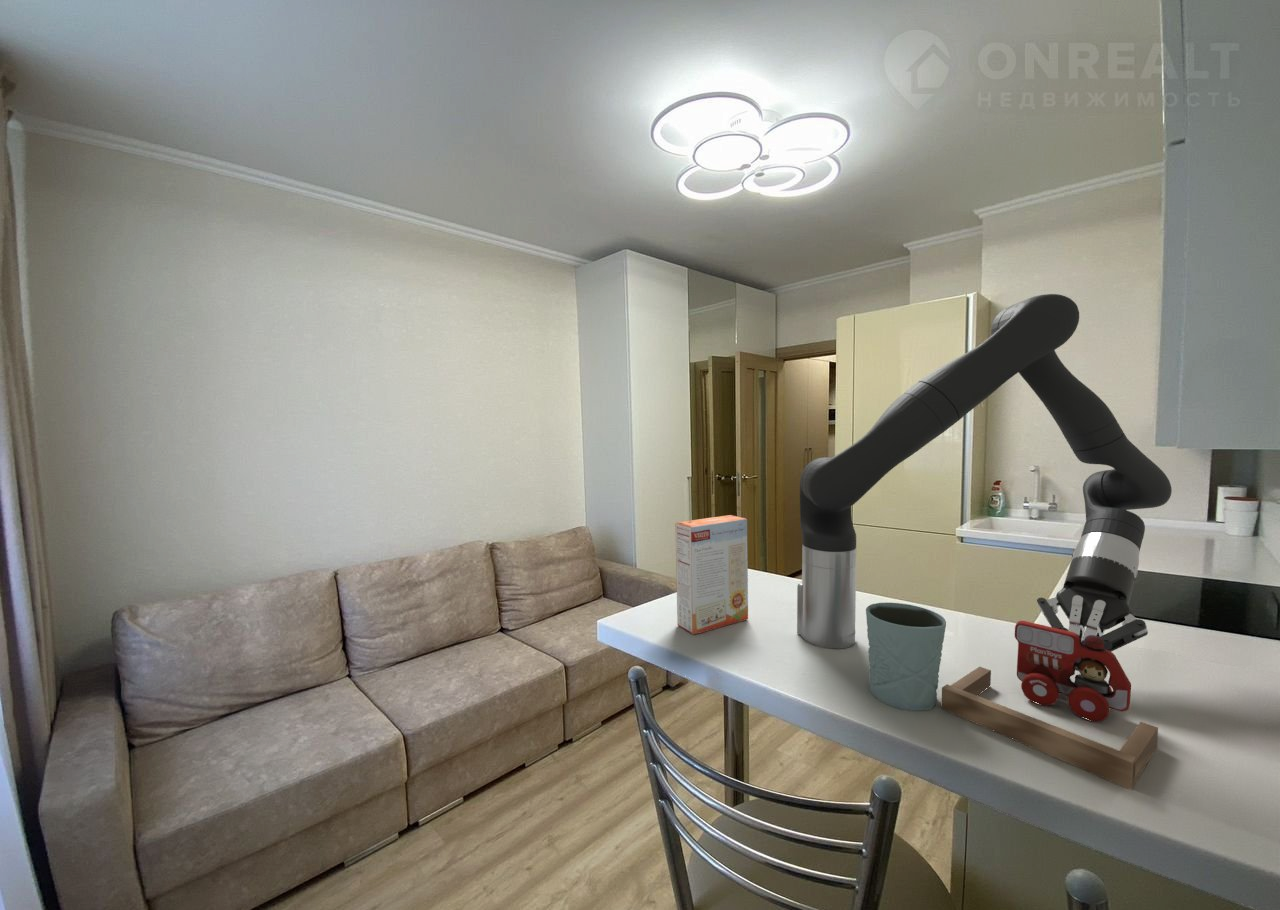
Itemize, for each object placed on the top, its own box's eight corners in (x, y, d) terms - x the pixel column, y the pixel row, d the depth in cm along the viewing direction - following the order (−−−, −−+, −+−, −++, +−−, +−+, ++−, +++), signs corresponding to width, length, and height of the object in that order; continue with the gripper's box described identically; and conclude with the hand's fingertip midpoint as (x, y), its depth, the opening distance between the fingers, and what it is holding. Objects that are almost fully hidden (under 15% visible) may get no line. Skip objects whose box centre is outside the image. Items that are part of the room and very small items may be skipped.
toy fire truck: (1127, 734, 63) (1130, 653, 62) (1007, 695, 72) (1009, 625, 72) (1131, 712, 68) (1134, 637, 67) (1018, 679, 77) (1020, 612, 76)
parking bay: (941, 708, 69) (941, 687, 69) (979, 682, 76) (979, 663, 76) (1131, 789, 53) (1132, 762, 53) (1157, 747, 60) (1158, 723, 60)
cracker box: (729, 611, 106) (729, 513, 105) (749, 620, 101) (749, 518, 100) (675, 625, 99) (674, 520, 98) (693, 635, 94) (692, 525, 93)
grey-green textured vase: (851, 691, 74) (852, 611, 73) (885, 670, 80) (886, 596, 79) (924, 723, 66) (926, 634, 65) (955, 697, 72) (958, 615, 71)
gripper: (1044, 546, 82) (1013, 638, 75) (1159, 564, 71) (1134, 673, 65) (1054, 572, 85) (1025, 663, 79) (1165, 593, 74) (1142, 700, 68)
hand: (1074, 667), depth 72 cm, fingers closed
